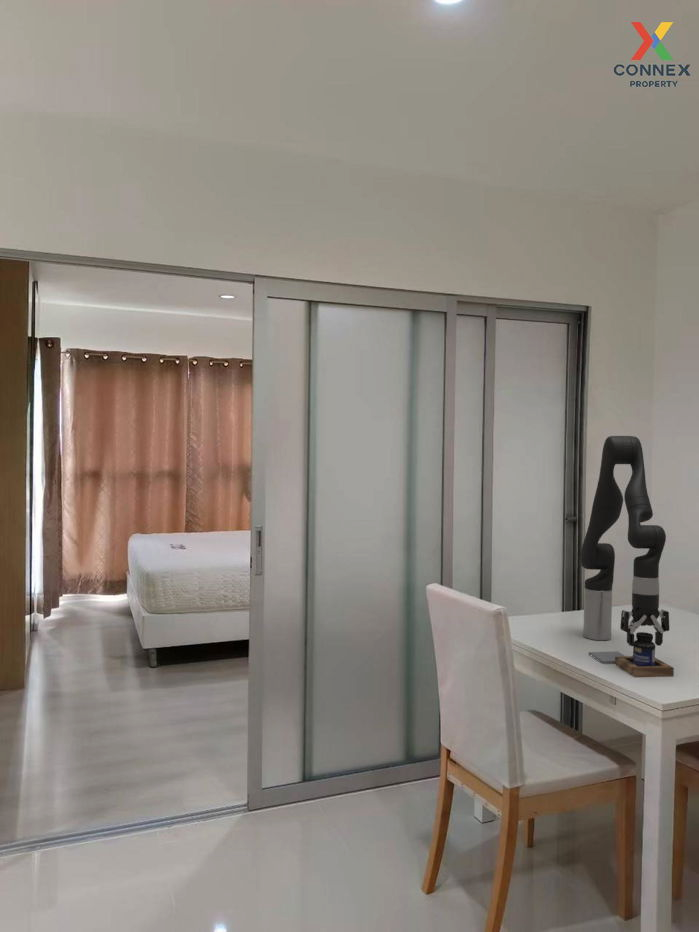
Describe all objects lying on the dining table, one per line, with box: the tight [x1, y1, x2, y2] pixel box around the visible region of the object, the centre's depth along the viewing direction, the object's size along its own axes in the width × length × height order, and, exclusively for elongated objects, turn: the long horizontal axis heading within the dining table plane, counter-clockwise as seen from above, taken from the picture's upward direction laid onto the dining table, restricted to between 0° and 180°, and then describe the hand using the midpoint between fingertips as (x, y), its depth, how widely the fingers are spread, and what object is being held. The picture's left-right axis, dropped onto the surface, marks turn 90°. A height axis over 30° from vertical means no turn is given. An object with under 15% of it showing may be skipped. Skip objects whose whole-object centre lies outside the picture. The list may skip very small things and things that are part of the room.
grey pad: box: [588, 651, 626, 664], centre depth 228 cm, size 10×10×1 cm
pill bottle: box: [632, 631, 656, 666], centre depth 216 cm, size 6×6×11 cm
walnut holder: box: [614, 655, 675, 678], centre depth 216 cm, size 12×12×2 cm
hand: (644, 645), depth 216 cm, fingers open, 8 cm apart
